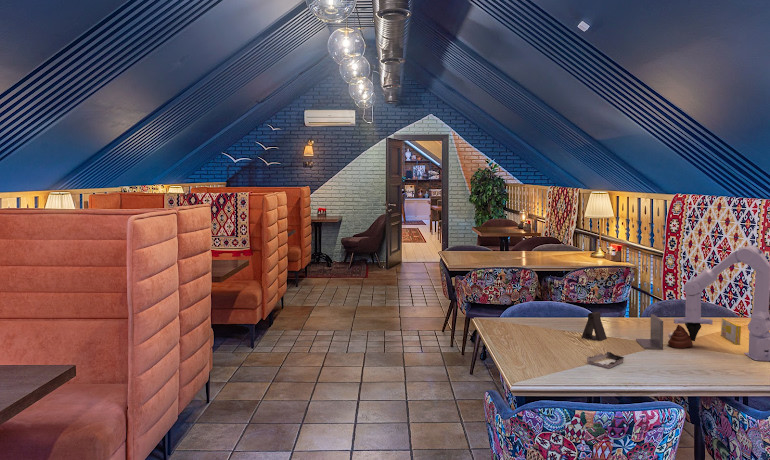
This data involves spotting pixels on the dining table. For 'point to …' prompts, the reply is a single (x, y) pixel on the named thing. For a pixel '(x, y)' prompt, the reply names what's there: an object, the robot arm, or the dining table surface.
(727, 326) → the candy box
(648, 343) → the bookend
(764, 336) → the robot arm
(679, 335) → the poop emoji
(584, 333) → the phone stand
